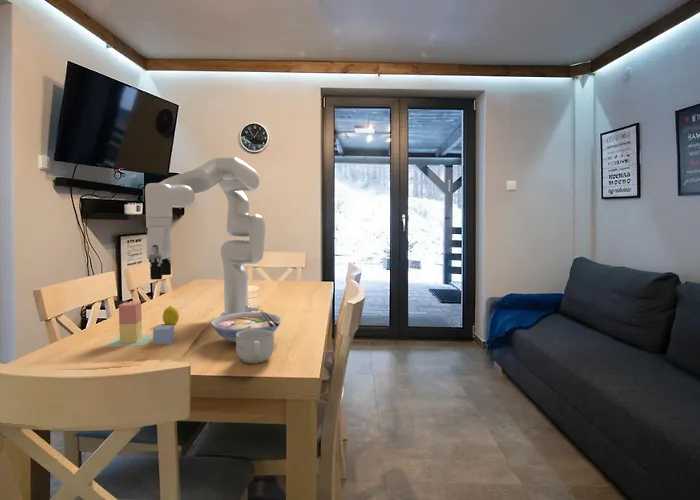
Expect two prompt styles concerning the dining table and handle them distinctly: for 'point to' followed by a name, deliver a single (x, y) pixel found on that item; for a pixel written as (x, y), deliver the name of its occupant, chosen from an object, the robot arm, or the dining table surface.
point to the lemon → (170, 316)
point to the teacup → (254, 345)
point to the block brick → (130, 313)
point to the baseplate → (142, 341)
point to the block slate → (163, 334)
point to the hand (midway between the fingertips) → (161, 277)
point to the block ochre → (130, 332)
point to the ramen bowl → (245, 323)
